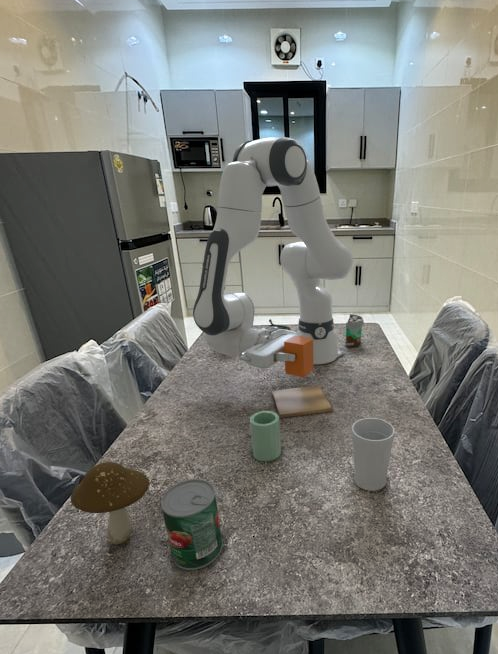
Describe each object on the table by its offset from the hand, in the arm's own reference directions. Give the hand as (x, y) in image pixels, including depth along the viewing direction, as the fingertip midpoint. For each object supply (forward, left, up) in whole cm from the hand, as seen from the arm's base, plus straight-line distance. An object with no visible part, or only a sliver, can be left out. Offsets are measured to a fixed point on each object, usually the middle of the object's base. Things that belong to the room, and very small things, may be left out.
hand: (302, 353), depth 100 cm
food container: (-42, +29, -15) cm, 53 cm away
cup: (+34, +6, -15) cm, 38 cm away
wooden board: (-1, -1, -15) cm, 15 cm away
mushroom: (+38, -39, -15) cm, 56 cm away
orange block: (0, -1, -5) cm, 6 cm away
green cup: (+20, -13, -15) cm, 28 cm away
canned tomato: (+43, -27, -15) cm, 53 cm away
